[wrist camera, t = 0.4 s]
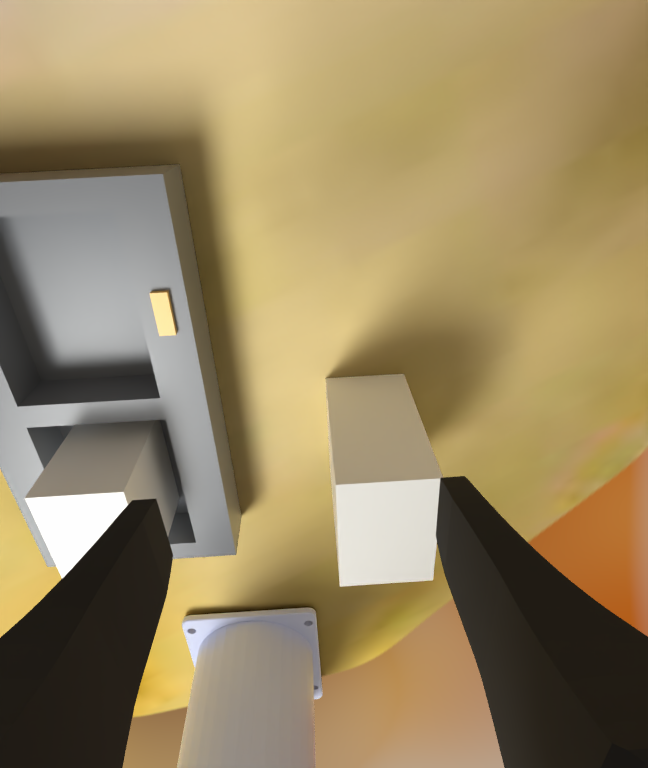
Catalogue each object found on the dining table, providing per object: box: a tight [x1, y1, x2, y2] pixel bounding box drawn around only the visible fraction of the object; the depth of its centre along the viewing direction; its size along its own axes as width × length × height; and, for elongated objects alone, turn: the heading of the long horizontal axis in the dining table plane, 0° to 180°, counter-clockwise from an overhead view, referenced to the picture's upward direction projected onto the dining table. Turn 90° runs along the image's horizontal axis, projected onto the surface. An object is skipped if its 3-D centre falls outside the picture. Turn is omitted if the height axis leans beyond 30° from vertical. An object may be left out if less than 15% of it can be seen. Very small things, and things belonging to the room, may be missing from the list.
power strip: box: [0, 164, 241, 578], centre depth 19 cm, size 17×9×6 cm, turn 2°
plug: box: [326, 374, 443, 586], centre depth 20 cm, size 5×4×7 cm
